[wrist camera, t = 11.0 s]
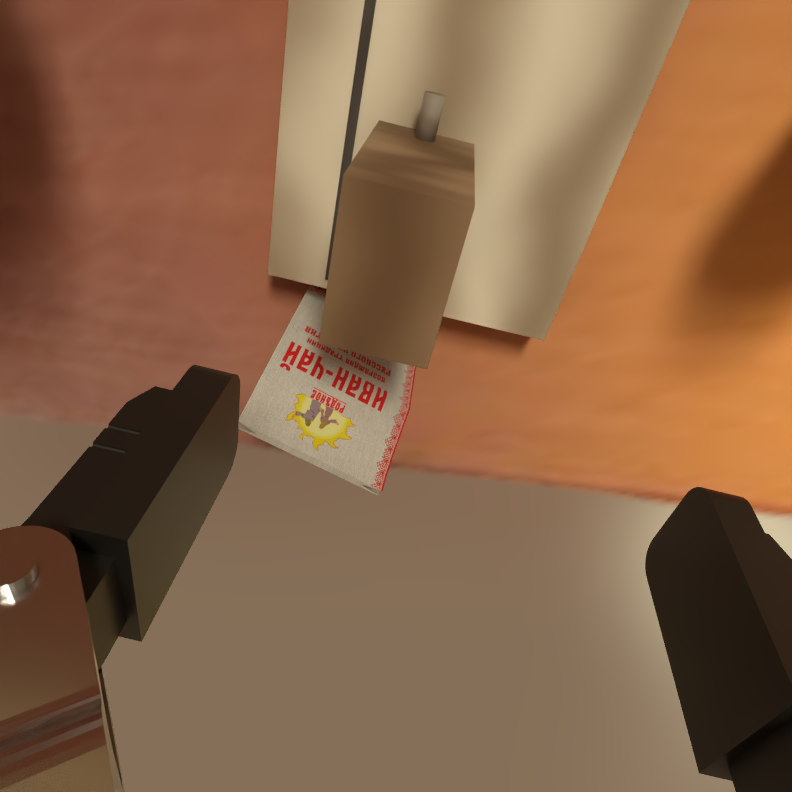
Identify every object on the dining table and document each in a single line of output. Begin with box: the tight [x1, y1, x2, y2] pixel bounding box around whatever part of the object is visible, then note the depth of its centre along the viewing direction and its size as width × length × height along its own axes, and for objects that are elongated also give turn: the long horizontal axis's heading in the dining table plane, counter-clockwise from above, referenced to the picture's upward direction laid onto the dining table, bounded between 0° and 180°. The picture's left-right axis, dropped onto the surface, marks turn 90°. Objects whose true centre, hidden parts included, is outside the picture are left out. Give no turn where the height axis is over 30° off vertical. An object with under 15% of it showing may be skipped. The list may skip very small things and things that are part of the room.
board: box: [268, 0, 690, 341], centre depth 23 cm, size 14×20×2 cm
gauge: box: [319, 91, 475, 369], centre depth 21 cm, size 4×8×8 cm, turn 168°
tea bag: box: [238, 285, 416, 495], centre depth 28 cm, size 4×7×10 cm, turn 60°
